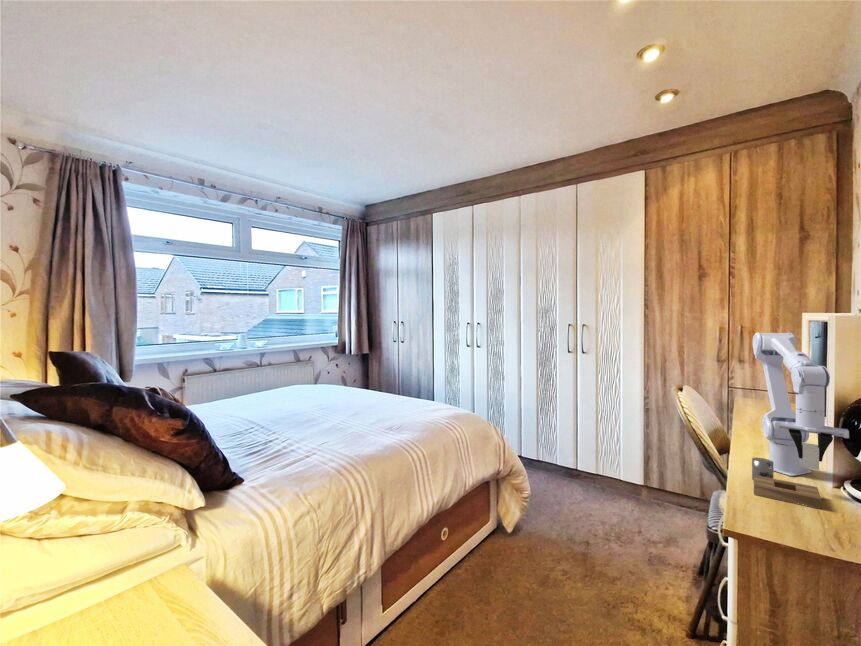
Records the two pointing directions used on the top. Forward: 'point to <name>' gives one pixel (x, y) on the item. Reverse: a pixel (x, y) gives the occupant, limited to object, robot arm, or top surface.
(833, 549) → the top surface
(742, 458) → the top surface
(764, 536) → the top surface
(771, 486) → the bore block
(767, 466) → the round bit
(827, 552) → the top surface
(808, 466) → the square bit
